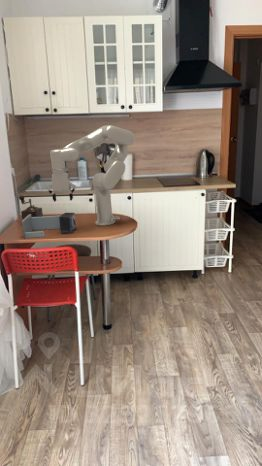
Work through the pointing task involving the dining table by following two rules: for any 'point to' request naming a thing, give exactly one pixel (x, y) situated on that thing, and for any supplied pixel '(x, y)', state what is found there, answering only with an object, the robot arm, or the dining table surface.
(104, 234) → the dining table surface
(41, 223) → the shelf
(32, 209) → the coffee grinder
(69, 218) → the small box
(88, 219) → the dining table surface
